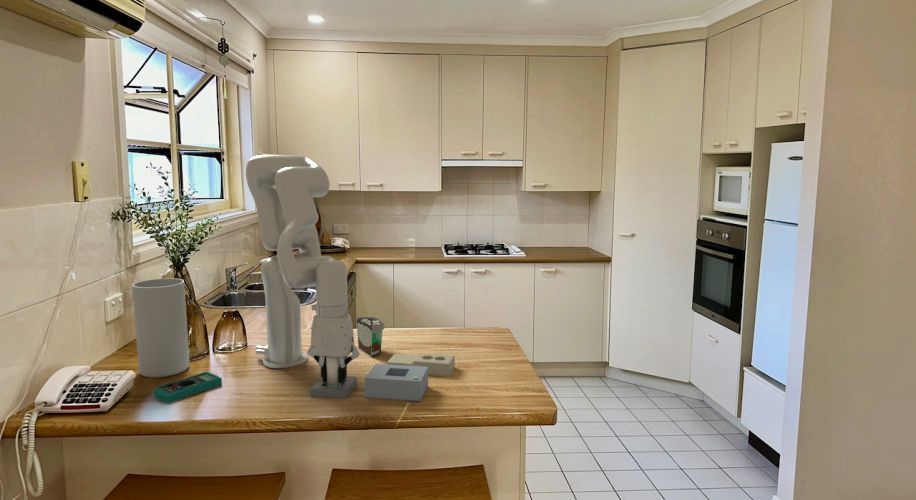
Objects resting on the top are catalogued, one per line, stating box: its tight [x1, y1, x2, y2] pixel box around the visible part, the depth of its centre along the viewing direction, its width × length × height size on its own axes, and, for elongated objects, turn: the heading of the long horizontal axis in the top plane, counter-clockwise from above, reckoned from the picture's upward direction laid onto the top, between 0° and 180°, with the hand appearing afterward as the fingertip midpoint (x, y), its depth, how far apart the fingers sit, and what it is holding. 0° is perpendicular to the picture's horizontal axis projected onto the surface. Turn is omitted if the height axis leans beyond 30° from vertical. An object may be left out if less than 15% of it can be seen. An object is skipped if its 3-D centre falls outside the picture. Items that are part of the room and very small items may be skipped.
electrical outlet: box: [386, 352, 456, 378], centre depth 157 cm, size 7×4×18 cm
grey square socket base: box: [309, 376, 358, 400], centre depth 141 cm, size 9×9×2 cm
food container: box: [355, 316, 385, 358], centre depth 171 cm, size 12×6×10 cm, turn 34°
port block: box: [364, 363, 429, 404], centre depth 140 cm, size 14×10×6 cm
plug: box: [326, 357, 341, 387], centre depth 140 cm, size 4×4×10 cm
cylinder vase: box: [131, 277, 190, 379], centre depth 153 cm, size 12×12×25 cm
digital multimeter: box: [153, 371, 223, 404], centre depth 141 cm, size 7×15×3 cm, turn 144°
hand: (334, 379), depth 140 cm, fingers closed on plug, 3 cm apart
